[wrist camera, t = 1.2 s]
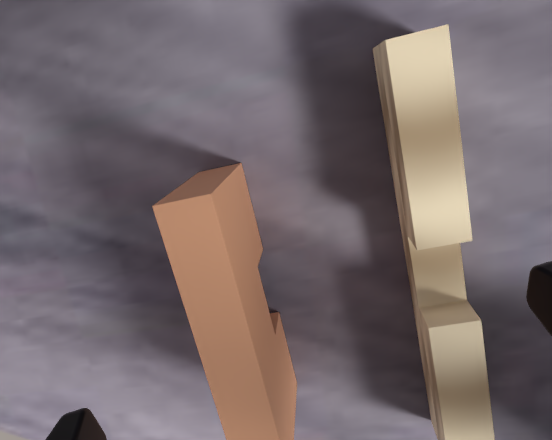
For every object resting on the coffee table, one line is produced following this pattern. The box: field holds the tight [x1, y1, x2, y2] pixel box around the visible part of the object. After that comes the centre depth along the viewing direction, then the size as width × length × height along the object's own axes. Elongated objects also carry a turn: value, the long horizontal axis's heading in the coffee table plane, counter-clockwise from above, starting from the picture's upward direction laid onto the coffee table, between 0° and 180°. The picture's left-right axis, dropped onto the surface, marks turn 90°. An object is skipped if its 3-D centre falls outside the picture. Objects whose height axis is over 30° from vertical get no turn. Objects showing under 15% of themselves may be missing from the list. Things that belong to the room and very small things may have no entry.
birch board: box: [373, 25, 495, 440], centre depth 22 cm, size 22×2×4 cm, turn 13°
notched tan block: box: [152, 163, 297, 440], centre depth 22 cm, size 14×2×7 cm, turn 13°
